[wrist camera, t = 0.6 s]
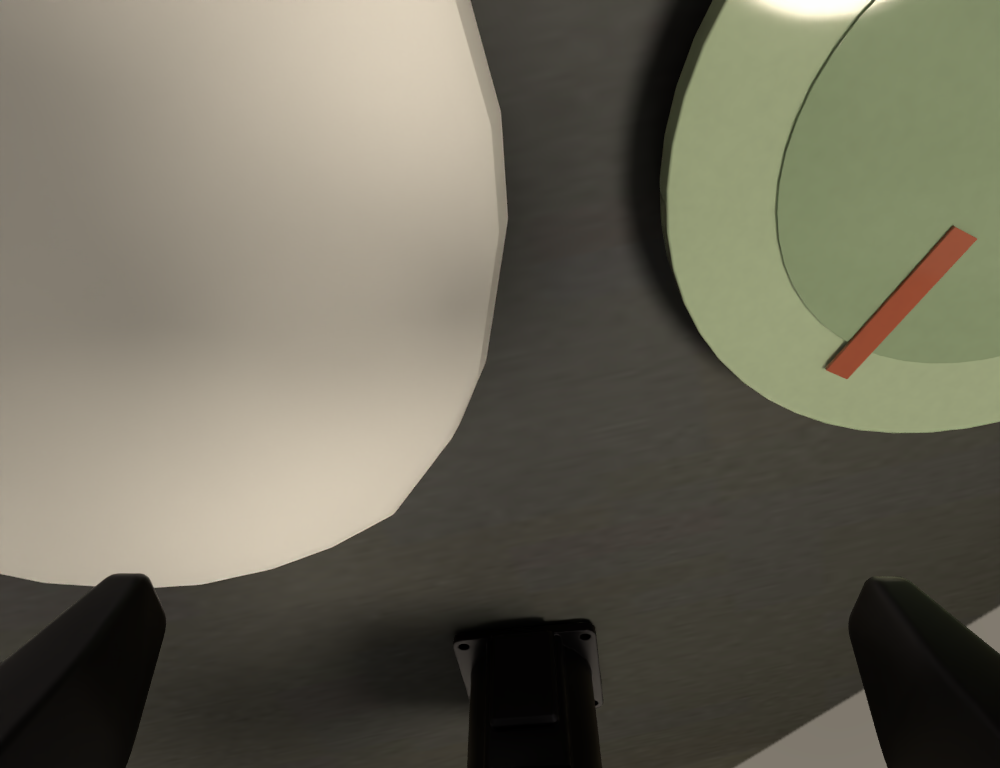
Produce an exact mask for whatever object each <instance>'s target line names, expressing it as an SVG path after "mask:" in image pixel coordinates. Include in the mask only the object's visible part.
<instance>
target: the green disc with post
mask: <svg viewBox="0 0 1000 768" xmlns="http://www.w3.org/2000/svg"><path fill="white" fill-rule="evenodd" d="M660 209H661V224H662V230H663V236H664V242H665V248H666V254H667V258H668V261H669V264H670V267H671V270H672V273H673V276H674V279H675V282H676V285H677V288H678V291H679V293H680V296H681V298H682V300H683V303H684V305H685V307H686V309H687V311H688V312H689V314H690V316H691V318H692V320H693V322H694V324H695V326H696V328H697V330H698V332H699V334H700V335H701V336H702V338H703V339H704V340H705V342H706V343H707V344H708V346H709V347H710V348H711V350H712V351H713V352H714V354H715V355H716V356H717V358H718V359H719V360H720V361H721V362H722V363H723V364H724V365H725V366H726V367H727V368H728V369H729V370H730V371H732V372H733V373H734V374H735V375H736V376H737V377H738V378H739V379H740V380H741V381H742V382H744V383H745V384H746V385H748V386H749V387H751V388H752V389H754V390H755V391H757V392H758V393H759V394H761V395H762V396H764V397H765V398H767V399H768V400H770V401H772V402H774V403H776V404H778V405H780V406H782V407H784V408H786V409H788V410H790V411H792V412H794V413H797V414H800V415H803V416H806V417H809V418H812V419H815V420H818V421H821V422H823V423H827V424H831V425H836V426H841V427H846V428H851V429H856V430H864V431H875V432H886V433H930V432H939V431H948V430H957V429H966V428H971V427H976V426H981V425H986V424H991V423H996V422H1000V0H713V1H712V3H711V5H710V7H709V9H708V11H707V13H706V15H705V17H704V19H703V21H702V23H701V25H700V27H699V29H698V31H697V33H696V35H695V37H694V40H693V43H692V45H691V48H690V51H689V53H688V56H687V59H686V62H685V64H684V67H683V70H682V72H681V75H680V78H679V81H678V83H677V86H676V90H675V94H674V98H673V102H672V106H671V110H670V115H669V119H668V123H667V127H666V131H665V137H664V146H663V155H662V163H661V172H660Z"/></svg>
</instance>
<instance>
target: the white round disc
mask: <svg viewBox="0 0 1000 768" xmlns="http://www.w3.org/2000/svg"><path fill="white" fill-rule="evenodd" d="M507 223H508V210H507V195H506V180H505V164H504V149H503V134H502V119H501V110H500V107H499V103H498V100H497V96H496V92H495V89H494V85H493V81H492V78H491V74H490V70H489V67H488V63H487V59H486V56H485V52H484V48H483V45H482V41H481V37H480V34H479V30H478V26H477V23H476V19H475V15H474V12H473V8H472V5H471V1H470V0H0V574H4V575H8V576H13V577H18V578H23V579H28V580H33V581H37V582H42V583H53V584H68V585H82V586H96V585H97V584H99V583H100V582H101V581H102V580H104V579H105V578H106V577H108V576H110V575H112V574H117V573H141V574H145V575H146V576H147V577H149V579H150V580H151V582H152V585H153V587H154V588H156V587H172V586H187V585H201V584H207V583H211V582H216V581H220V580H225V579H229V578H234V577H238V576H243V575H247V574H252V573H257V572H261V571H266V570H270V569H274V568H277V567H279V566H282V565H285V564H288V563H290V562H293V561H296V560H299V559H301V558H304V557H307V556H310V555H312V554H315V553H318V552H321V551H323V550H326V549H329V548H332V547H334V546H335V545H337V544H339V543H341V542H343V541H345V540H347V539H349V538H350V537H352V536H354V535H356V534H358V533H360V532H362V531H363V530H365V529H367V528H369V527H371V526H373V525H375V524H377V523H378V522H380V521H382V520H384V519H386V518H388V517H390V516H392V515H393V514H394V513H395V512H396V511H397V509H398V508H399V507H400V505H401V504H402V503H403V501H404V500H405V499H406V498H407V496H408V495H409V494H410V492H411V491H412V490H413V488H414V487H415V486H416V484H417V483H418V482H419V481H420V479H421V478H422V477H423V475H424V474H425V473H426V471H427V470H428V469H429V467H430V466H431V465H432V463H433V462H434V461H435V460H436V458H437V457H438V456H439V454H440V453H441V452H442V450H443V449H444V448H445V446H446V445H447V444H448V443H449V441H450V440H451V439H452V437H453V435H454V433H455V431H456V429H457V428H458V426H459V424H460V422H461V420H462V417H463V415H464V413H465V410H466V408H467V405H468V403H469V401H470V398H471V396H472V394H473V391H474V389H475V386H476V384H477V382H478V379H479V377H480V375H481V372H482V370H483V367H484V365H485V363H486V358H487V352H488V345H489V339H490V332H491V326H492V319H493V313H494V306H495V300H496V294H497V287H498V281H499V274H500V268H501V261H502V255H503V248H504V242H505V235H506V229H507Z"/></svg>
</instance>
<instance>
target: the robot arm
mask: <svg viewBox="0 0 1000 768" xmlns="http://www.w3.org/2000/svg"><path fill="white" fill-rule="evenodd" d="M165 628H166V617H165V613H164V610H163V608H162V605H161V603H160V601H159V599H158V596H157V594H156V592H155V589H154V587H153V585H152V582H151V580H150V579H149V577H147V576H146V575H145V574H141V573H117V574H112V575H110V576H108V577H106V578H105V579H104V580H102V581H101V582H100V583H99V584H97V585H96V586H95V587H94V588H93V589H91V590H90V591H89V592H88V593H86V594H85V595H84V596H83V597H82V598H80V599H79V600H78V601H77V602H75V603H74V604H73V605H72V606H70V607H69V608H68V609H67V610H66V611H64V612H63V613H62V614H61V615H59V616H58V617H57V618H56V619H55V620H53V621H52V622H51V623H50V624H48V625H47V626H46V627H45V628H44V629H42V630H41V631H40V632H39V633H37V634H36V635H35V636H34V637H32V638H31V639H30V640H29V641H28V642H26V643H25V644H24V645H23V646H21V647H20V648H19V649H18V650H17V651H15V652H14V653H13V654H12V655H10V656H9V657H8V658H7V659H5V660H4V661H3V662H2V663H1V664H0V768H126V765H127V762H128V759H129V757H130V754H131V751H132V748H133V744H134V741H135V738H136V735H137V731H138V727H139V724H140V720H141V717H142V713H143V710H144V706H145V702H146V699H147V695H148V692H149V688H150V684H151V681H152V677H153V674H154V670H155V666H156V663H157V659H158V656H159V652H160V648H161V645H162V641H163V638H164V634H165ZM849 635H850V639H851V643H852V647H853V650H854V654H855V657H856V661H857V665H858V668H859V672H860V675H861V679H862V682H863V686H864V690H865V693H866V697H867V700H868V704H869V708H870V711H871V715H872V718H873V722H874V726H875V729H876V733H877V736H878V740H879V743H880V746H881V749H882V753H883V756H884V759H885V761H886V764H887V767H888V768H1000V654H999V653H998V652H997V651H995V650H994V649H993V648H992V647H990V646H989V645H988V644H987V643H985V642H984V641H983V640H982V639H981V638H979V637H978V636H977V635H975V634H974V633H973V632H972V631H971V630H969V629H968V628H967V627H966V626H965V625H963V624H962V623H961V622H960V621H958V620H957V619H956V618H955V617H953V616H952V615H951V614H950V613H949V612H947V611H946V610H945V609H944V608H942V607H941V606H940V605H939V604H937V603H936V602H935V601H934V600H933V599H931V598H930V597H929V596H928V595H926V594H925V593H924V592H923V591H921V590H920V589H919V588H918V587H917V586H915V585H914V584H913V583H912V582H910V581H908V580H907V579H905V578H902V577H871V578H869V579H868V580H867V581H866V582H865V584H864V586H863V588H862V590H861V592H860V595H859V597H858V599H857V601H856V604H855V606H854V608H853V610H852V612H851V615H850V618H849ZM453 649H454V652H455V655H456V659H457V662H458V665H459V668H460V671H461V675H462V678H463V681H464V684H465V687H466V691H467V694H468V697H469V700H470V712H469V736H468V760H467V768H602V763H601V754H600V745H599V736H598V727H597V718H596V709H595V708H599V707H601V706H602V705H603V695H602V686H601V676H600V667H599V658H598V649H597V639H596V631H595V627H594V625H592V624H590V623H572V624H560V625H548V626H536V627H524V628H512V629H501V630H489V631H477V632H465V633H459V634H457V635H455V636H454V641H453Z"/></svg>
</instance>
